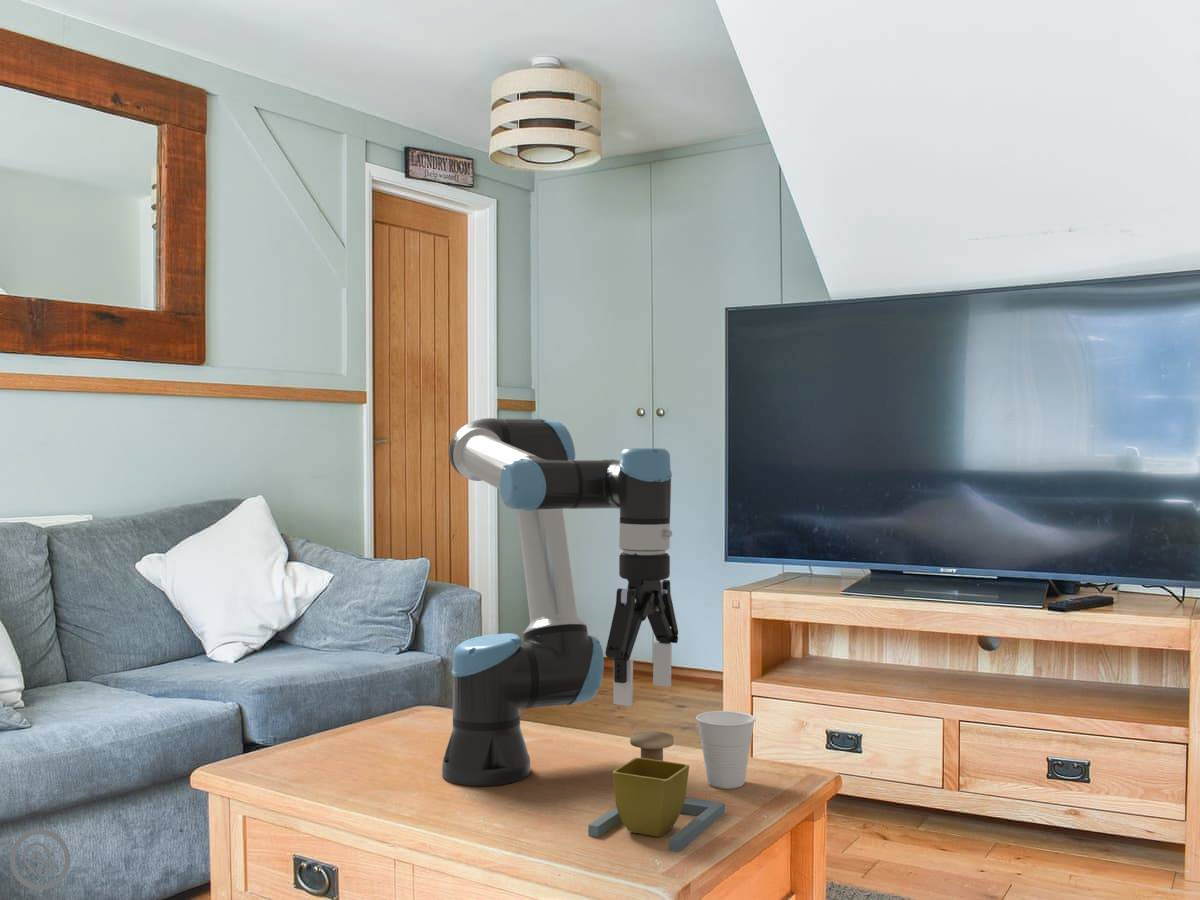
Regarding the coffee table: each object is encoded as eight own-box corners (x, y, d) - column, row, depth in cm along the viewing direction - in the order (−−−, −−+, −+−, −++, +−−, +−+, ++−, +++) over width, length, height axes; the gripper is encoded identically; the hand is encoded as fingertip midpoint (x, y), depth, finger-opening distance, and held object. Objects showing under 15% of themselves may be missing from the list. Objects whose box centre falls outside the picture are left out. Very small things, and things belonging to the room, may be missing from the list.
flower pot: (690, 825, 149) (690, 763, 149) (668, 844, 141) (667, 779, 141) (636, 816, 153) (635, 756, 153) (611, 835, 145) (610, 771, 145)
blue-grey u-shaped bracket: (679, 851, 138) (679, 840, 138) (588, 835, 144) (588, 824, 145) (725, 812, 154) (725, 803, 154) (641, 799, 160) (641, 790, 161)
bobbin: (623, 795, 163) (622, 739, 163) (641, 784, 169) (641, 729, 169) (663, 802, 159) (662, 744, 160) (680, 789, 166) (680, 734, 166)
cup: (754, 794, 163) (754, 725, 163) (693, 791, 165) (692, 723, 165) (757, 777, 173) (757, 712, 173) (699, 773, 175) (699, 709, 175)
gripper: (630, 560, 138) (629, 717, 138) (699, 546, 160) (698, 681, 160) (582, 557, 141) (580, 710, 141) (656, 544, 163) (655, 675, 163)
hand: (643, 695), depth 150 cm, fingers open, 13 cm apart
